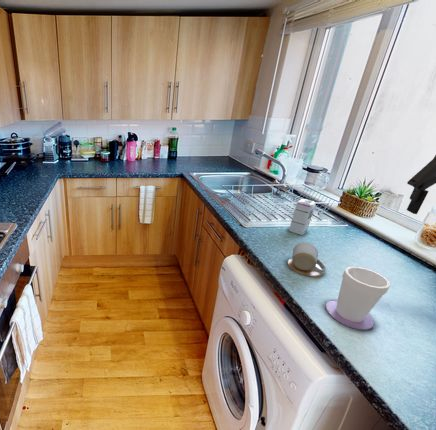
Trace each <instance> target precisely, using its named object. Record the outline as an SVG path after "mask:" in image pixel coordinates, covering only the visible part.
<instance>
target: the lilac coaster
mask: <svg viewBox="0 0 436 430" xmlns="http://www.w3.org/2000/svg"><path fill="white" fill-rule="evenodd" d="M336 305H337V300H330V301H327V302H326V305H325V310H326V312H327V313H328V315H329V316H330V317H332V318H333V319H334V320H335V321H337V322H338V323H340V324H342V325H344V326H346V327H349V328H352V329H355V330H359V331H368V330H371V329H372V328H373V327H374V326H375V322H374V319H373V318H372V316H371V315H370V314H369V313H368V314H367V316H366V317H365V318H364V319H363V320H362V321H361V322H353V321H350V320H347V319H345V318H343V317H342V316H340V315H339V314H338V313H337V311H336Z"/></svg>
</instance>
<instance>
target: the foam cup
mask: <svg viewBox="0 0 436 430" xmlns="http://www.w3.org/2000/svg"><path fill="white" fill-rule="evenodd" d="M341 277H342V281H341V285H340V289H339V291H338V296H337V300H336V301H337V305H336V311H337V313H338V314H339V315H340V316H342V317H343V318H345V319H347V320H350V321H353V322H361V321H362V320H363V319H364V318H365V317H366V316H367V314H368V315H369V314H370V312H372V310H373V309H374V307H375V306H376V305H377V303H378V302H379V301H380V300H381V298H382V297H383V296H385V295H386V294H387V293H388V291H389V289H390V287H391V283H390V281H389V279H388V278H386V277H385V276H384V275H382V274H380V273H378V272H376V271H374V270H371V269H369V268H366V267H360V266H348V267H346V268H345V269H344V271H343V273H342V275H341Z"/></svg>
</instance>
